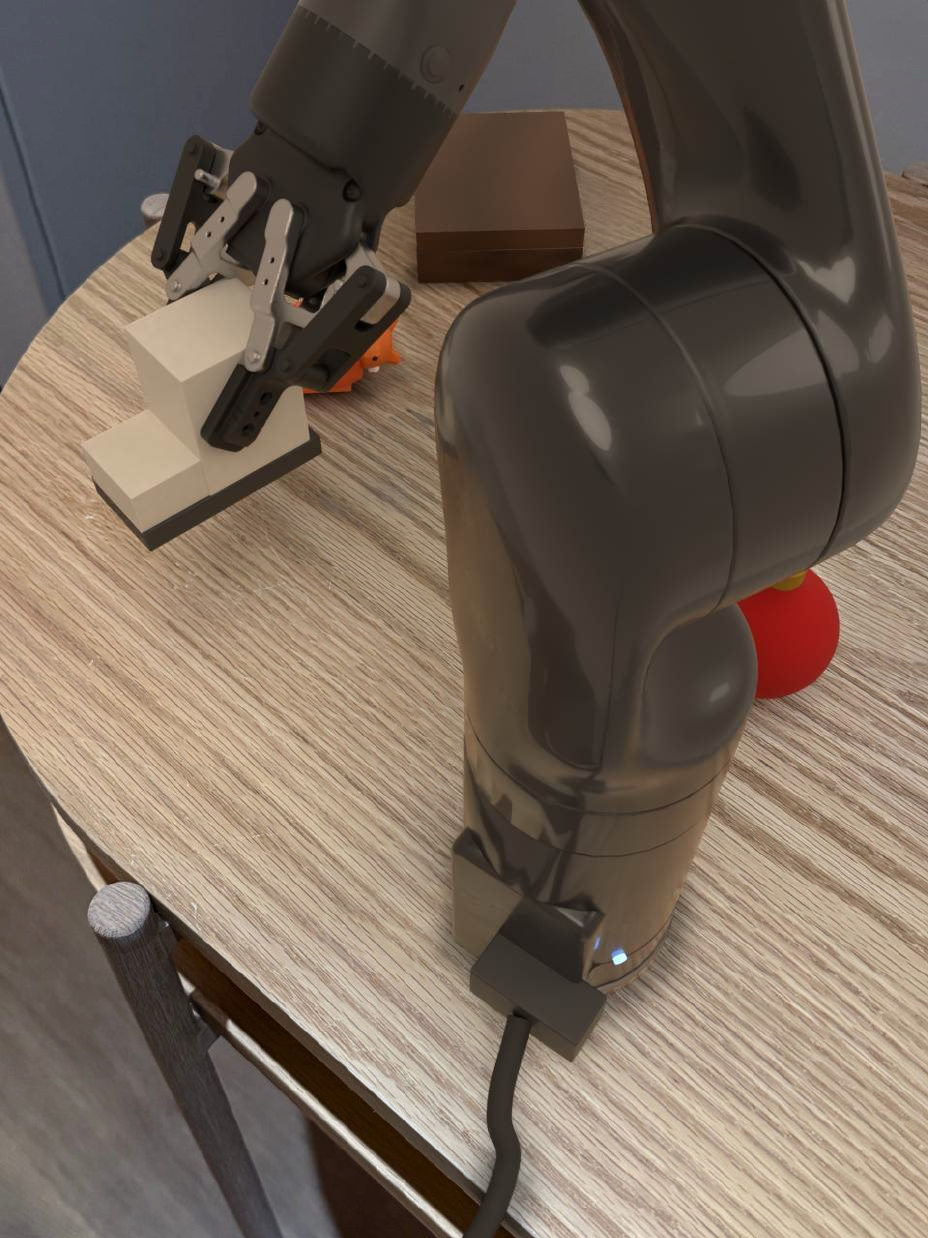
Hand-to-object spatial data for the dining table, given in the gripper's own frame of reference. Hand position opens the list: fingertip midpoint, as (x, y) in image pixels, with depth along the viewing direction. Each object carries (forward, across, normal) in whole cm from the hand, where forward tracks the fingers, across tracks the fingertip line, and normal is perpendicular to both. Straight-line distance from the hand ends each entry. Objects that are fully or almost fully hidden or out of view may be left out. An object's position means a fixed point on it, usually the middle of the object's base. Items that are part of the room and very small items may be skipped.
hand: (187, 412), depth 51 cm
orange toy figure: (0, +12, -19) cm, 22 cm away
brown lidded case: (-14, +16, -32) cm, 39 cm away
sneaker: (+3, 0, -3) cm, 4 cm away
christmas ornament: (-3, -21, -22) cm, 31 cm away
